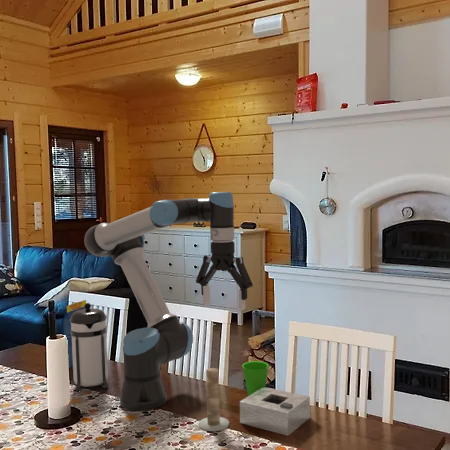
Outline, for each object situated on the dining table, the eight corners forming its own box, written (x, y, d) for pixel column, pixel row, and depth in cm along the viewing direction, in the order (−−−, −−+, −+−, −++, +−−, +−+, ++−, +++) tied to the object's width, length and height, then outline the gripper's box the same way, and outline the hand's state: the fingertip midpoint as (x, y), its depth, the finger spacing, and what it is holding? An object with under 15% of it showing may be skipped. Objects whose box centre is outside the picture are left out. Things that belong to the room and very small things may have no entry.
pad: (192, 426, 162) (192, 425, 162) (210, 415, 170) (210, 414, 170) (217, 434, 157) (217, 432, 157) (235, 422, 164) (234, 420, 164)
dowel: (205, 423, 163) (203, 370, 162) (212, 419, 166) (210, 367, 165) (215, 426, 161) (213, 373, 160) (222, 422, 164) (220, 369, 162)
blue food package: (63, 367, 219) (60, 305, 217) (82, 358, 230) (79, 299, 228) (75, 369, 217) (73, 306, 215) (94, 360, 228) (92, 300, 226)
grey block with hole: (240, 422, 164) (239, 399, 163) (264, 406, 175) (263, 384, 175) (288, 435, 155) (287, 411, 154) (310, 417, 166) (309, 394, 166)
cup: (268, 403, 178) (267, 370, 177) (240, 402, 180) (239, 369, 179) (271, 393, 186) (270, 361, 186) (244, 392, 188) (244, 360, 188)
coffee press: (123, 381, 202) (119, 300, 199) (90, 396, 188) (86, 309, 186) (89, 373, 211) (85, 296, 209) (56, 387, 197) (52, 304, 195)
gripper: (183, 240, 178) (185, 305, 179) (249, 243, 164) (251, 314, 165) (198, 238, 184) (199, 301, 185) (262, 241, 170) (264, 309, 171)
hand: (224, 307), depth 175 cm, fingers open, 13 cm apart
